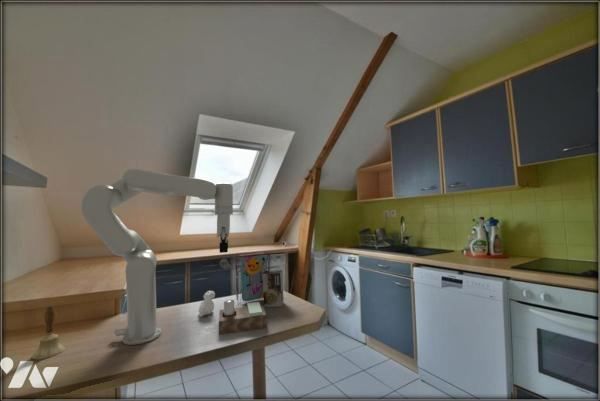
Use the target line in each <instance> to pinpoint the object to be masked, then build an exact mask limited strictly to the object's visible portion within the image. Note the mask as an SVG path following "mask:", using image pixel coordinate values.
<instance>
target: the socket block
mask: <svg viewBox="0 0 600 401" xmlns="http://www.w3.org/2000/svg"><path fill="white" fill-rule="evenodd" d="M260 307H261V310H262V315H257V316H250V317H249V312H248V307H247V305H246V306H242V307H241V306H239V307H234V315H235V316H230V317H224V308H223V309H219V313H218V335H226V334H232V333H238V332H245V331H247V332H248V331H252V330H260V329H265V328H266V329H267V313H266V311H265V307H264V304H260Z"/></svg>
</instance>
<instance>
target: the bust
mask: <svg viewBox="0 0 600 401" xmlns="http://www.w3.org/2000/svg"><path fill="white" fill-rule="evenodd" d="M215 297H216V293H215V291H214V290H207V291H206V292H205V293H204V294H203V299H204V300H202V301H201V303H200V306H199V307H198V314H199V317H200V318H202V317H204V316H206V315H207V316H208V315H211V314H212V313H213V311H214V309H215V303H214V301H213V299H214V298H215Z"/></svg>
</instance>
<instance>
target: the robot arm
mask: <svg viewBox="0 0 600 401" xmlns="http://www.w3.org/2000/svg"><path fill="white" fill-rule="evenodd" d="M233 189H234V187H233V184H232V183H229V182H217V183H214V181H211V180H208V179H204V178H197V177H191V176H184V175H183V176H182V175H176V174H171V173H170V174H169V173H164V172H157V171H152V170H146V169H140V168H129V169H127V170H125V172H123V175H122V177H121V179H119V180H117V181H115V182H113V183H111V184H103V183H102V184H96V185H94V186H92V187H90V188H89V189H88V190H87V191H86V192H85V194H84V196H83V197H82V200H81V203H80V204H81V205H80V207H81V208H80V209H81V210H80V211H81V213H82V216H83V218H84V220H85V221H86V223H87V224H88V225H89V227H90V228H91V229H92V230H93V231H94V233H96V236H98V238H99V239H100V240H101V241H102V243H104V245H105V246H106V247H107V249H108V250H109V251H110V252H111V253H112V254H113V255H115V256H119V257H121V258H123V260H125V262H126V266H125V271H124V272H125V282H126V284H125V285H126V301H127V302H126V312H127V314H126V318H127V319H126V322H127V326H125V327H122V328H115V330H114V334H115V336H116V337H120V336H123V337H122V343H123V344H124V345H127V346H136V345H141V344H145V343H148V342H150V341H153V340H155V339H157V338H158V337H159V336H161V334H162V328H160V327H158V326H157V321H158V320H157V283H156V282H157V281H156V279H157V278H156V267H157V263H158V261H157V256H156V254H155V253H154V252H153V250H152V248H150V247H149V245H148V244H147V243H146V242H145V241H144V239H143V238H142V236H140V235H139V233H137V232H136V231H135V230H133V229H130V228H128V227H127V226H126V225H125V224H124V223H123V221H122V220H121V218H120V217H119V216H117V214H115V212H114V211H113V208H116V207H118V206H120V205H122V204H124V203H125V202H127V201H128V200H130V199H132V198H134V197H136V196H138V195H139V194H141V193H149V194H154V195H163V196H169V197H170V196H183V197H184V196H185V197H192V198H193V197H194V198H198V199H200V200H203V201H209V200H214V215H215V216H217V217H216V218H217V219H216V238H218V239H219V253H220V254H222V253H223V254H224V253H228V250H229V240H228V238H229V236H230V232H231V231H230V230H231V227H230V226H231V215H233V214H234V211H233V210H234V208H233V207H234V205H233V203H234V198H233V197H234V196H233V194H234V192H233V191H234V190H233Z"/></svg>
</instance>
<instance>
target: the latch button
mask: <svg viewBox="0 0 600 401" xmlns="http://www.w3.org/2000/svg"><path fill="white" fill-rule="evenodd" d="M260 305H261V303H260V301H259V302H258V301H257V302H254V301H252V302H251V303H250V302H246V306H247V307H248V312H249V317H250V316H257V315H262V310H261V307H260Z"/></svg>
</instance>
